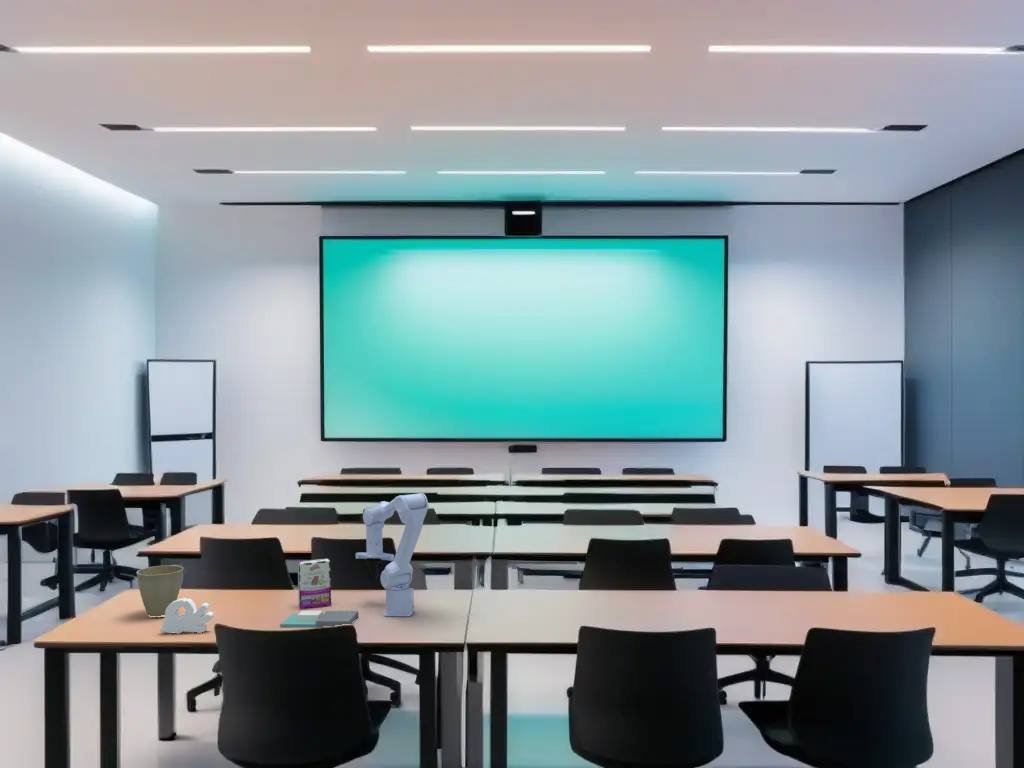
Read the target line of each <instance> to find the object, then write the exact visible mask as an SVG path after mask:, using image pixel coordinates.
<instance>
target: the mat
mask: <svg viewBox="0 0 1024 768" xmlns="http://www.w3.org/2000/svg"><path fill="white" fill-rule="evenodd" d="M298 614H299V613H292V614H290V616H288V617H287V618H286V619H285V620H284V621H282V622H281V623H280V624H279V627H280V628H317V627H316V621H298V616H297V615H298Z"/></svg>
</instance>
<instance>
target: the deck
mask: <svg viewBox="0 0 1024 768" xmlns="http://www.w3.org/2000/svg"><path fill="white" fill-rule="evenodd" d="M357 617H358V618H359V610H326V611H325V612H323V615H322V616H321V617H320V618H319V619H318V620H317V621H316V627H315V628H324V627H323V626H335V625H342V624H352V625H353V623H354V622H355V621H356V620H357V619H358V618H357ZM356 618H357V619H356ZM355 619H356V620H355ZM354 620H355V621H354ZM353 621H354V622H353ZM352 622H353V623H352Z"/></svg>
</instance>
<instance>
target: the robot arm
mask: <svg viewBox="0 0 1024 768" xmlns="http://www.w3.org/2000/svg"><path fill="white" fill-rule="evenodd" d="M428 510H429V501H428V498H427V496H426V494H425V493H423V492H419V493H412V494H403V495H401V494H400V495H398V496H395V498H393V499H392V500H391V501H390V502H389V501H386V500H384V501H380V502H379V504H378V505H377V504H376V505H373V508H365V510H364V511H363V513H362V520H363V523H364V524H365V525H366V526H365V528H366V530H365V533H366V537H365V538H366V539H365V540H366V552H355V559H356V560H357V559H358V560H359V559H361V560H362V559H363V560H364V559H365V560H366V561H365V564H366V567H367V568H368V570H369V572H370V576H371V580H372V581H377V580H378V579H379V576H380V584H381V585H382V587H383V588H384V590H385V600H386V601H385V606H386V608H385V610H386V611H385V612H384V613H383V614H382V616H383V617H411V616H412V614H413V613H414V611H415V591H414V588H412V587H410V584H411V583H412V581H413V572H414V569H413V566H412V565H411V563H410V562H411V559H412V556H413V554H414V551H415V549H416V546H417V544H418V540H419V537H420V534H421V531H422V529H423V526H424V525H423V524H424V520H425V517H426V515H427V513H428ZM395 512H396V513H397V514H398V516H399V519H400V522H401V523H402V524H404V525H405V526H404V530H403V533H402V535H401V537H400V541H399V544H398V547H397V549H396V552H395V554H393V553H386V552H384V551H383V550H384V549H383V547H384V546H383V529H384V526H385V522H386V520H387V519H389V518H391V517H392V516H394V513H395ZM384 561H390V563H388V564H387V565H386V566H385V568H384V570H382V571H381V569H382V565H383V563H384ZM380 572H381V573H380Z"/></svg>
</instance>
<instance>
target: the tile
mask: <svg viewBox="0 0 1024 768" xmlns="http://www.w3.org/2000/svg"><path fill="white" fill-rule="evenodd" d="M297 614H298V615H297V616H298V621H317V620H318V619H319V618H320V617H321V616H322V615H323V614H324V611H323V610H301V611H300V612H299V613H297Z"/></svg>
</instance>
